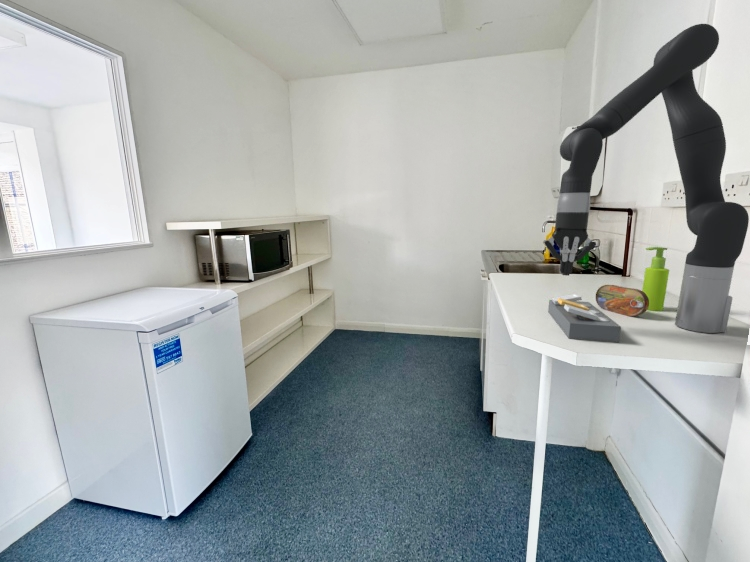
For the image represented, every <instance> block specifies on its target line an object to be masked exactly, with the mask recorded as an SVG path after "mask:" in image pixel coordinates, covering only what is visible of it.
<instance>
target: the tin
mask: <svg viewBox="0 0 750 562" xmlns="http://www.w3.org/2000/svg"><path fill="white" fill-rule="evenodd" d="M595 301H596V304H597V306H598V307H599V308H600V309H602V310H604V311H608V312H612V313H616V314H621V315H623V316H626V317H636V316H641V315H642V314H644V313H646V312H647V311H648V310H647V309H648V306H649V299H648V297H647V295H646V294H645V293H644V292H643V291H642V289H641V290H640V289H638V288H634V287H633V288H632V287H626V286H620V285H615V284H603V285H601V286H600V287H598V289H597V290H596V293H595Z"/></svg>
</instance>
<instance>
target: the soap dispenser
mask: <svg viewBox="0 0 750 562" xmlns="http://www.w3.org/2000/svg"><path fill="white" fill-rule="evenodd" d="M645 250H646V251H655V250H656V253H655V256H654V257H652V258H651V261H650V262H651V264H650V266H649V267H645V269H644V270H645V271H644V277H643V283H642V289H641V291H643V292H644V293H645V294H646V295H647V297H648V299H649V306H648V309H647V310H646V311H650V312H651V311H652V312H654V311H655V312H662V311H663V310H664V305H665V300H666V294H667V293H666V292H667V287H668V280H669V274H670V269H668V268H666V267H665V266H666V260H667V258H666V257H664V251H667V250H668V247H660V246H650V247H646V248H645Z"/></svg>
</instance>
